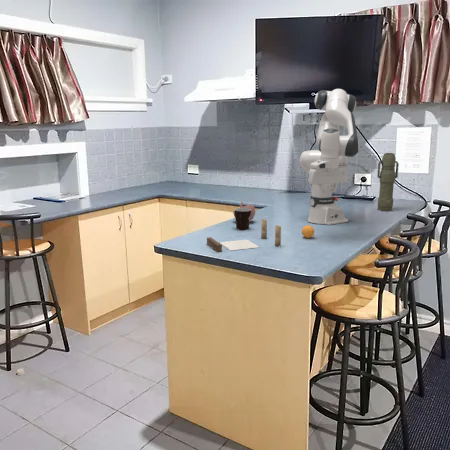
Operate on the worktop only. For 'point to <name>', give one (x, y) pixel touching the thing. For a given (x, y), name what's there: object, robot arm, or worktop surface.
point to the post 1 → (264, 229)
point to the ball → (308, 231)
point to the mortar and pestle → (248, 208)
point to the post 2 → (277, 235)
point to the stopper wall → (214, 244)
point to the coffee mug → (242, 218)
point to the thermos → (387, 181)
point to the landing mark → (239, 245)
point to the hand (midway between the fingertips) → (327, 192)
